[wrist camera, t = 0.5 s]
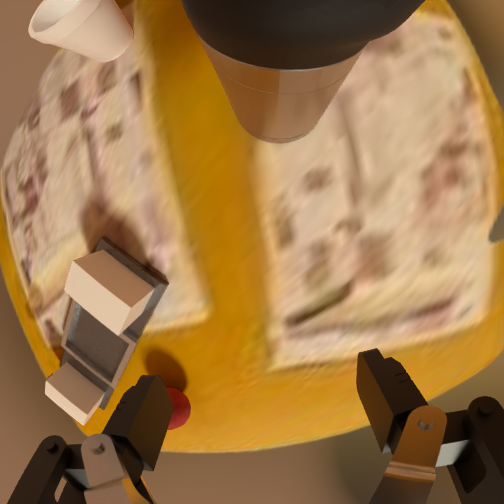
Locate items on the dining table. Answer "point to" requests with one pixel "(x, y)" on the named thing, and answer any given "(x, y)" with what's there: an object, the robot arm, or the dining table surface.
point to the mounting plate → (107, 332)
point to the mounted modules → (107, 312)
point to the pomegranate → (178, 408)
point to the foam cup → (83, 27)
